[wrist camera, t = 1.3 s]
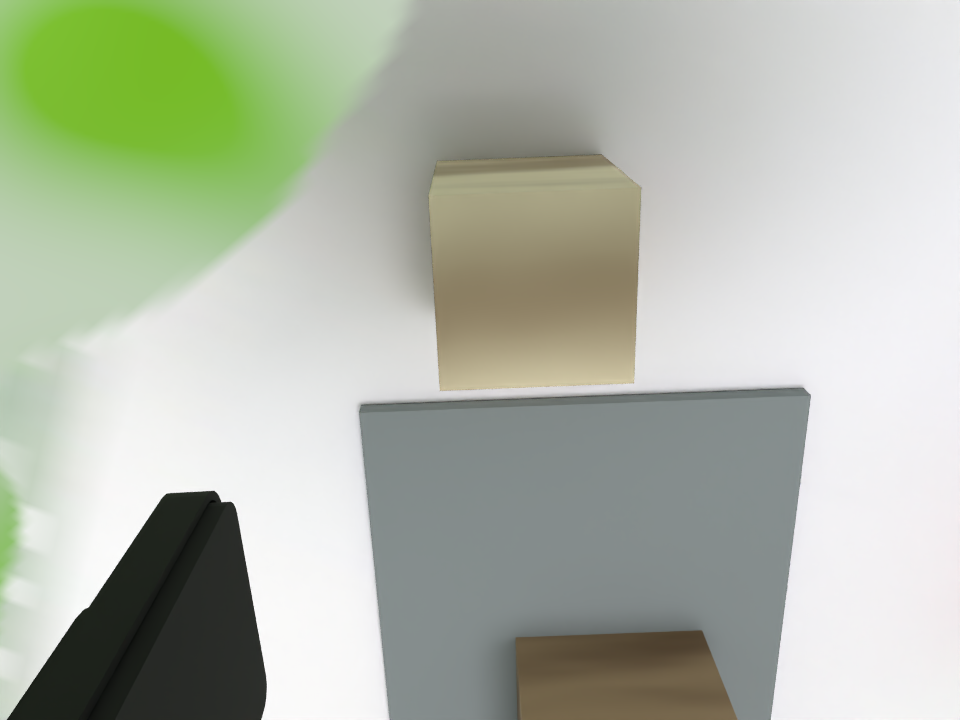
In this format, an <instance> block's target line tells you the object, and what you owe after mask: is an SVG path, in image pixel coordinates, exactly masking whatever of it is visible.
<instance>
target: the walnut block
mask: <svg viewBox="0 0 960 720" xmlns="http://www.w3.org/2000/svg"><path fill="white" fill-rule="evenodd" d="M515 639H516V680H517V720H738V719H737V717H736V714H735V712H734V709H733V707H732V704H731V702H730V699H729V697H728V694H727V692H726V689H725V687H724V684H723V682H722V679H721V677H720V674H719V671H718V669H717V666H716V664H715V661H714V659H713V656H712V654H711V651H710V649H709V646H708V644H707V641H706V639H705V636H704V634H703V631H702V630H696V631H670V632H643V633H617V634H591V635H565V636H539V637H515Z"/></svg>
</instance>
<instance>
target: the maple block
mask: <svg viewBox="0 0 960 720" xmlns="http://www.w3.org/2000/svg"><path fill="white" fill-rule="evenodd" d="M428 198H429V215H430V232H431V249H432V266H433V283H434V299H435V316H436V333H437V350H438V367H439V384H440V391H449V390H474V389H500V388H525V387H550V386H576V385H601V384H626V383H634V369H635V341H636V314H637V286H638V259H639V231H640V204H641V187H640V186H639V185H638V184H636V183H635V182H634V181H633V180H632V179H630V178H629V177H628V176H627V175H626V174H624V173H623V172H622V171H621V170H620V169H618V168H617V167H616V166H615V165H614V164H612V163H611V162H610V161H609V160H608V159H606V158H605V157H604V156H603V155H576V156H551V157H525V158H500V159H474V160H448V161H437V163H436V167H435V171H434V175H433V179H432V183H431V187H430V191H429V195H428Z"/></svg>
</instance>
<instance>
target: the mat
mask: <svg viewBox="0 0 960 720" xmlns="http://www.w3.org/2000/svg"><path fill="white" fill-rule="evenodd" d="M810 399H811V395H810V394H809V393H808V392H807V391H806V390H805V389H804V388H800V389H774V390H747V391H721V392H695V393H669V394H643V395H617V396H591V397H565V398H539V399H513V400H487V401H461V402H435V403H409V404H383V405H361V409H360V412H359V415H360V425H361V435H362V445H363V455H364V465H365V475H366V485H367V495H368V505H369V515H370V525H371V535H372V545H373V555H374V565H375V576H376V586H377V596H378V606H379V616H380V626H381V636H382V646H383V656H384V666H385V676H386V686H387V696H388V706H389V716H390V720H517V680H516V639H515V637H539V636H565V635H591V634H617V633H643V632H670V631H696V630H702V631H703V634H704V636H705V639H706V641H707V644H708V646H709V649H710V651H711V654H712V656H713V659H714V661H715V664H716V666H717V669H718V671H719V674H720V677H721V679H722V682H723V684H724V687H725V689H726V692H727V694H728V697H729V699H730V702H731V704H732V707H733V709H734V712H735V714H736V717H737V719H738V720H771V712H772V704H773V696H774V688H775V680H776V672H777V664H778V656H779V648H780V640H781V632H782V624H783V616H784V608H785V600H786V592H787V584H788V575H789V567H790V559H791V551H792V543H793V535H794V527H795V519H796V511H797V503H798V495H799V487H800V479H801V471H802V463H803V455H804V447H805V439H806V431H807V423H808V415H809V407H810Z"/></svg>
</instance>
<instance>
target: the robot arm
mask: <svg viewBox="0 0 960 720" xmlns="http://www.w3.org/2000/svg"><path fill="white" fill-rule="evenodd" d="M266 691H267V682H266V673H265V668H264V662H263V657H262V651H261V645H260V640H259V634H258V629H257V623H256V617H255V612H254V606H253V601H252V595H251V589H250V584H249V578H248V572H247V567H246V561H245V556H244V550H243V544H242V539H241V533H240V528H239V522H238V516H237V512H236V508H235V506H234V504H233V503H232V502H221V500H220V498H219V496H218V494H217V493H216V492H215V491H203V492H184V493H169V494H166V495H165V496H164V497H163V498H162V499H161V501H160V502H159V504H158V505H157V507H156V508H155V509H154V511H153V512H152V514H151V515H150V517H149V518H148V520H147V521H146V523H145V524H144V526H143V527H142V529H141V530H140V532H139V533H138V535H137V536H136V538H135V539H134V541H133V542H132V544H131V545H130V547H129V548H128V550H127V551H126V553H125V554H124V556H123V557H122V559H121V560H120V562H119V563H118V565H117V566H116V568H115V569H114V571H113V572H112V574H111V575H110V577H109V578H108V580H107V581H106V583H105V584H104V586H103V587H102V588H101V590H100V591H99V593H98V594H97V596H96V597H95V599H94V600H93V602H92V603H91V605H90V606H89V608H86V609H84V610H83V611H82V612H81V613H80V615H79V616H78V617H77V618H76V619H75V620H74V622H73V623H72V625H71V626H70V628H69V629H68V631H67V632H66V634H65V635H64V637H63V638H62V640H61V641H60V643H59V644H58V645H57V647H56V648H55V650H54V651H53V653H52V654H51V656H50V657H49V659H48V660H47V662H46V663H45V665H44V666H43V667H42V669H41V670H40V672H39V673H38V675H37V676H36V678H35V679H34V681H33V682H32V684H31V685H30V687H29V688H28V690H27V691H26V692H25V694H24V695H23V697H22V698H21V700H20V701H19V703H18V704H17V706H16V707H15V709H14V710H13V712H12V713H11V715H10V716H9V717H8V719H7V720H261V718H262V715H263V711H264V707H265V702H266Z"/></svg>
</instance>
